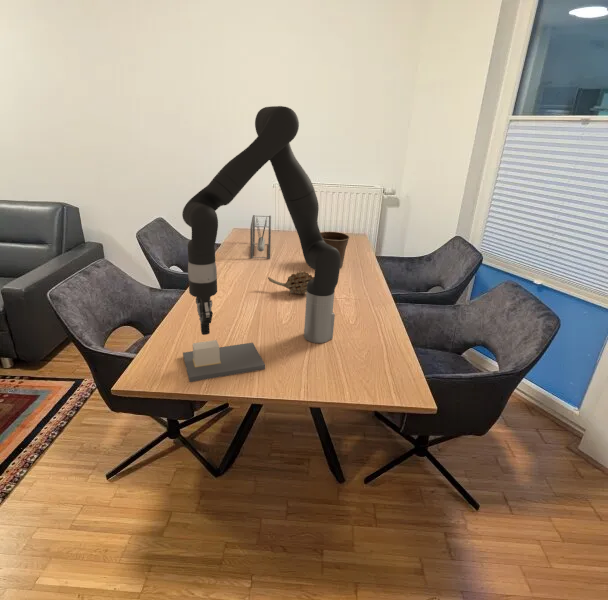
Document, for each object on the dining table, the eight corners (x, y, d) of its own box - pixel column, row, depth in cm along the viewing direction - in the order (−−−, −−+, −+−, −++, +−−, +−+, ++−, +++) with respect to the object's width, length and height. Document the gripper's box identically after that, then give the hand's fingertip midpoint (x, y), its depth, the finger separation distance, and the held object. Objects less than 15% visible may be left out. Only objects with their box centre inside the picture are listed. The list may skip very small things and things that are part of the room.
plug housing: (217, 355, 125) (216, 339, 123) (219, 362, 122) (219, 346, 119) (193, 359, 122) (192, 343, 120) (195, 366, 119) (194, 350, 117)
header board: (252, 346, 134) (252, 331, 132) (265, 369, 122) (265, 352, 120) (183, 356, 126) (182, 340, 124) (189, 382, 115) (188, 365, 112)
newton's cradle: (252, 243, 245) (252, 214, 238) (270, 244, 246) (271, 214, 238) (250, 259, 217) (250, 226, 210) (270, 260, 218) (270, 227, 211)
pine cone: (317, 290, 182) (318, 269, 178) (315, 299, 173) (316, 277, 169) (267, 286, 183) (268, 265, 179) (263, 294, 175) (264, 272, 171)
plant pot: (347, 271, 207) (350, 240, 201) (315, 270, 207) (317, 238, 201) (345, 261, 222) (348, 232, 215) (315, 260, 222) (317, 230, 215)
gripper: (221, 284, 107) (223, 342, 114) (212, 268, 118) (214, 321, 125) (191, 287, 104) (195, 346, 111) (185, 270, 116) (188, 324, 122)
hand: (205, 333), depth 118 cm, fingers closed
